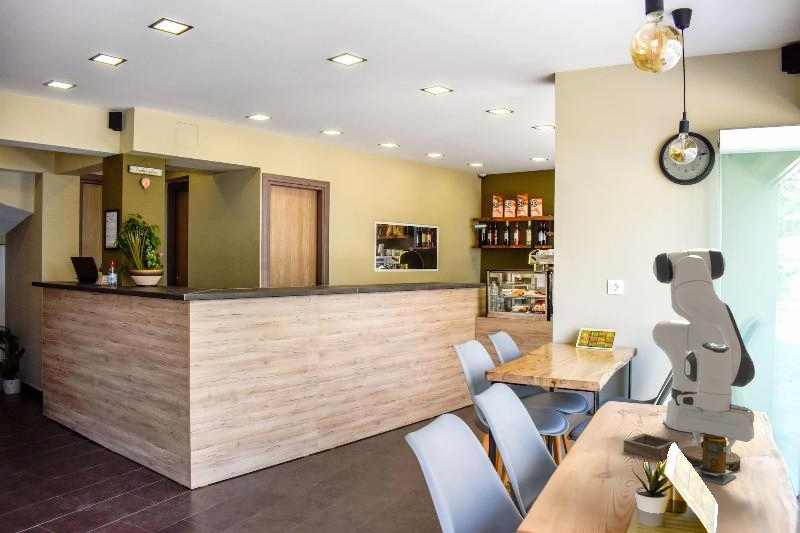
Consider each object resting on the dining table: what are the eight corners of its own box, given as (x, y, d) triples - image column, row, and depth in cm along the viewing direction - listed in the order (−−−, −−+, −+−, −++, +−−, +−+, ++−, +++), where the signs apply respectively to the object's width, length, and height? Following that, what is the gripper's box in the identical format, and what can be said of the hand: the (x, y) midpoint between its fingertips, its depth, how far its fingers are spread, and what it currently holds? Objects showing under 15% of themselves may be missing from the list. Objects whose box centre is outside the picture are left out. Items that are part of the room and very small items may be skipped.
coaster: (703, 469, 184) (703, 467, 184) (735, 477, 177) (736, 475, 177) (689, 476, 178) (689, 474, 178) (722, 485, 171) (723, 482, 171)
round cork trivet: (735, 459, 195) (735, 449, 195) (744, 475, 180) (745, 465, 180) (679, 453, 200) (679, 443, 200) (684, 468, 185) (684, 458, 185)
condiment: (732, 472, 177) (733, 429, 177) (716, 476, 172) (717, 432, 172) (707, 465, 183) (708, 423, 183) (691, 469, 178) (692, 426, 178)
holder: (643, 444, 208) (643, 433, 208) (677, 452, 200) (677, 441, 199) (623, 451, 200) (623, 440, 200) (659, 460, 191) (659, 449, 191)
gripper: (758, 406, 171) (757, 457, 172) (683, 393, 187) (682, 439, 187) (749, 410, 167) (748, 461, 167) (673, 396, 182) (672, 443, 183)
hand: (713, 450), depth 177 cm, fingers closed on condiment, 6 cm apart
